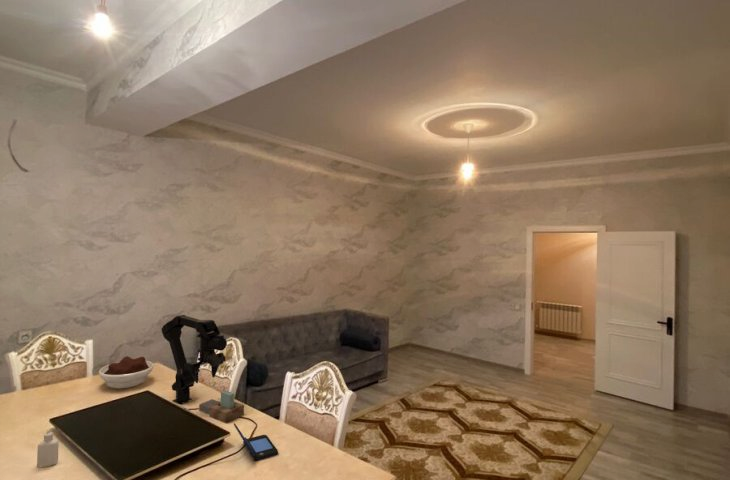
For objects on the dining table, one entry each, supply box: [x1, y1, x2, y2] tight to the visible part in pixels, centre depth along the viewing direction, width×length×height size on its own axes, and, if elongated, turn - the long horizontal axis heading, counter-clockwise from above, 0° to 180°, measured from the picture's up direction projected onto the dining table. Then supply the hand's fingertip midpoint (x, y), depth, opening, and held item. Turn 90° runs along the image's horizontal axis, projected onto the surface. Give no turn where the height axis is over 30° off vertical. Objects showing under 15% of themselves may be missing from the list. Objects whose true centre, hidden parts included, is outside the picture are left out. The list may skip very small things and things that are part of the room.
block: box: [219, 390, 235, 410], centre depth 174 cm, size 6×2×9 cm, turn 60°
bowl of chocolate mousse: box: [98, 355, 155, 389], centre depth 206 cm, size 25×25×15 cm
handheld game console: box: [233, 423, 279, 462], centre depth 147 cm, size 16×13×9 cm
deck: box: [198, 399, 221, 415], centre depth 179 cm, size 8×7×3 cm
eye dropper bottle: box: [36, 428, 60, 467], centre depth 134 cm, size 4×6×12 cm
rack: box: [208, 401, 245, 424], centre depth 174 cm, size 11×10×4 cm
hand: (205, 380), depth 182 cm, fingers open, 9 cm apart
